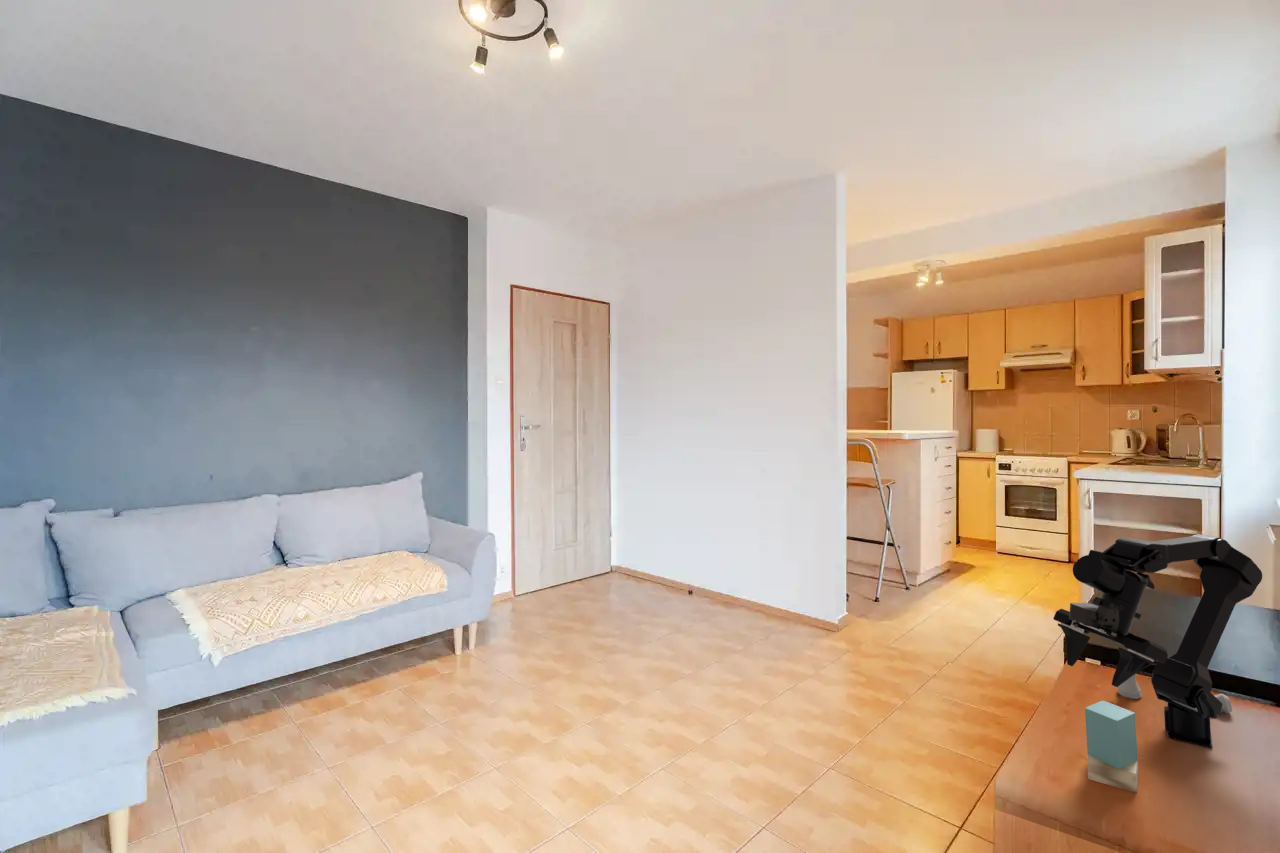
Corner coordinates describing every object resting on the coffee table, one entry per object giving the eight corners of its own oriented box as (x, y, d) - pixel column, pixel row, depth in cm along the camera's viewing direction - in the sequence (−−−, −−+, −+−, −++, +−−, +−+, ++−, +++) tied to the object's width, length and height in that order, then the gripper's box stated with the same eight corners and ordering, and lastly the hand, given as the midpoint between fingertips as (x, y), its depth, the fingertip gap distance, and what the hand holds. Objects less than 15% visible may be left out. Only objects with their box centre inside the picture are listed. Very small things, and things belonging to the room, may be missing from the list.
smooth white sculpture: (1182, 714, 131) (1181, 698, 135) (1233, 724, 126) (1231, 707, 129) (1180, 698, 130) (1180, 682, 134) (1232, 708, 125) (1230, 691, 128)
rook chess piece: (1143, 701, 135) (1141, 666, 135) (1118, 697, 138) (1116, 663, 137) (1140, 692, 139) (1138, 658, 139) (1115, 688, 141) (1114, 655, 141)
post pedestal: (1138, 772, 112) (1136, 736, 111) (1136, 792, 106) (1134, 754, 106) (1091, 760, 116) (1089, 725, 116) (1088, 778, 111) (1086, 742, 111)
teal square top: (1105, 746, 115) (1102, 700, 114) (1137, 760, 110) (1135, 712, 109) (1087, 754, 113) (1084, 707, 112) (1119, 769, 108) (1117, 721, 107)
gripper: (1047, 573, 124) (1019, 643, 123) (1138, 601, 106) (1106, 683, 105) (1087, 592, 126) (1060, 660, 126) (1183, 622, 108) (1152, 703, 107)
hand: (1091, 675), depth 116 cm, fingers open, 9 cm apart
